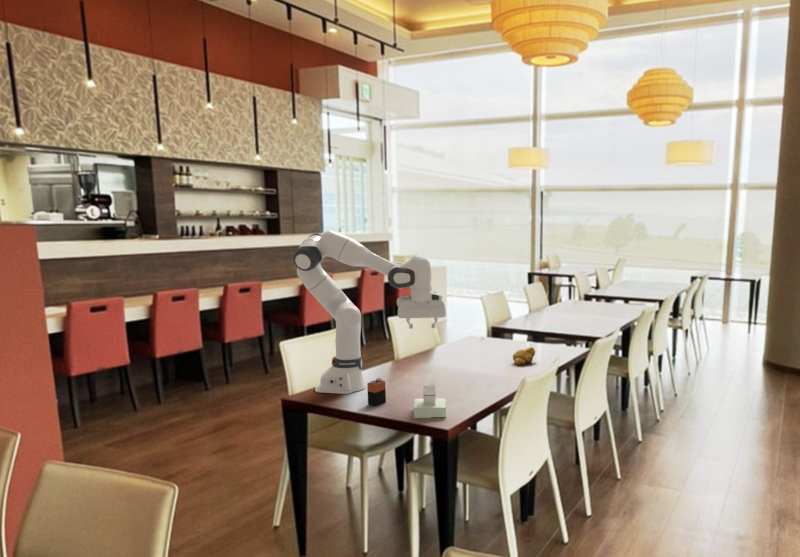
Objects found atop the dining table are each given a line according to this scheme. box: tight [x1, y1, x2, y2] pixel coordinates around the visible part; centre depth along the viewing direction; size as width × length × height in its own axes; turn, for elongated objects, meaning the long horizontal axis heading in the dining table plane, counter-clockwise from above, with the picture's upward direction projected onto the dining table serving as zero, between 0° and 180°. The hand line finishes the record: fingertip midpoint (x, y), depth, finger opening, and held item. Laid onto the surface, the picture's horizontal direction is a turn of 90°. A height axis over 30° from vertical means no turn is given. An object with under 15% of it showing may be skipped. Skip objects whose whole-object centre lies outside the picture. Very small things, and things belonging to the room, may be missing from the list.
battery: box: [366, 377, 387, 407], centre depth 227 cm, size 4×7×10 cm, turn 140°
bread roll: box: [512, 347, 536, 366], centre depth 284 cm, size 13×10×8 cm
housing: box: [422, 381, 437, 405], centre depth 213 cm, size 5×5×8 cm
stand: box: [413, 397, 447, 419], centre depth 213 cm, size 12×11×4 cm
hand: (422, 328), depth 233 cm, fingers open, 8 cm apart
